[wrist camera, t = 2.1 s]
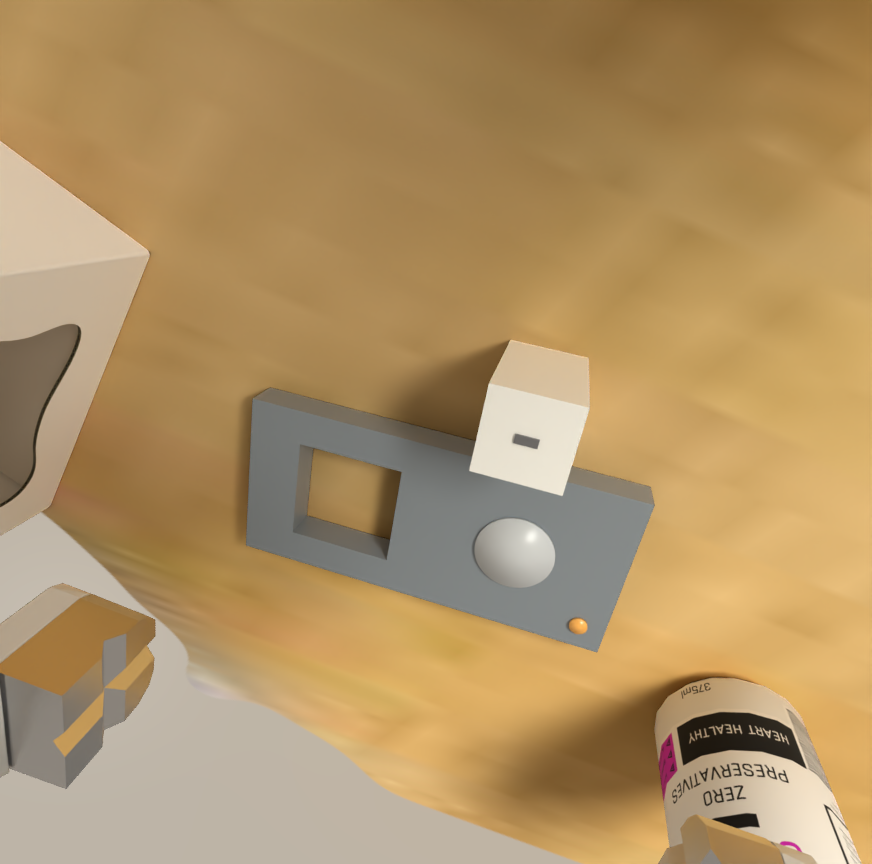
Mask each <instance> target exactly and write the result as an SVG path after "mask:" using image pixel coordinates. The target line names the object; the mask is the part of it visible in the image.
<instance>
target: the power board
mask: <svg viewBox="0 0 872 864" xmlns="http://www.w3.org/2000/svg"><path fill="white" fill-rule="evenodd" d="M475 442H476V441H473V440H469V439H466V438H462V437H458V436H454V435H450V434H446V433H443V432H439V431H435V430H431V429H427V428H423V427H420V426H416V425H412V424H408V423H404V422H400V421H397V420H393V419H389V418H385V417H381V416H378V415H374V414H370V413H366V412H362V411H358V410H355V409H351V408H347V407H343V406H339V405H335V404H332V403H328V402H324V401H320V400H316V399H312V398H309V397H305V396H301V395H297V394H293V393H289V392H286V391H282V390H278V389H274V388H269V389H267V390H265V391H264V392H262V393H261V394H259V395H257V396H256V397H254V398H253V403H252V425H251V447H250V469H249V491H248V513H247V534H246V545H247V546H250V547H253V548H256V549H260V550H263V551H266V552H270V553H273V554H276V555H279V556H283V557H286V558H289V559H293V560H296V561H299V562H302V563H306V564H309V565H312V566H315V567H319V568H322V569H325V570H329V571H332V572H335V573H338V574H342V575H345V576H348V577H352V578H355V579H358V580H361V581H365V582H368V583H371V584H374V585H378V586H381V587H384V588H388V589H391V590H394V591H397V592H401V593H404V594H407V595H411V596H414V597H417V598H420V599H424V600H427V601H430V602H434V603H437V604H440V605H443V606H447V607H450V608H453V609H456V610H460V611H463V612H466V613H470V614H473V615H476V616H479V617H483V618H486V619H489V620H493V621H496V622H499V623H502V624H506V625H509V626H512V627H515V628H519V629H522V630H525V631H529V632H532V633H535V634H538V635H542V636H545V637H548V638H552V639H555V640H558V641H561V642H565V643H568V644H571V645H575V646H578V647H581V648H584V649H588V650H591V651H594V652H597V651H598V649H599V646H600V644H601V641H602V639H603V636H604V633H605V631H606V628H607V626H608V623H609V621H610V618H611V615H612V613H613V610H614V608H615V605H616V603H617V600H618V598H619V595H620V592H621V590H622V587H623V585H624V582H625V580H626V577H627V575H628V572H629V569H630V567H631V564H632V562H633V559H634V557H635V554H636V552H637V549H638V546H639V544H640V541H641V539H642V536H643V534H644V531H645V528H646V526H647V523H648V521H649V518H650V516H651V513H652V511H653V508H654V500H653V496H652V491H651V487H649V486H645V485H642V484H638V483H634V482H630V481H626V480H622V479H619V478H615V477H611V476H607V475H603V474H599V473H596V472H592V471H588V470H584V469H580V468H577V467H573V466H572V467H571V470H570V473H569V477H568V480H567V483H566V486H565V490H564V493H563V496H560V495H557V494H553V493H549V492H546V491H542V490H538V489H534V488H531V487H527V486H523V485H520V484H516V483H512V482H509V481H505V480H501V479H497V478H494V477H490V476H486V475H483V474H479V473H475V472H471V471H469V469H470V464H471V460H472V456H473V451H474V447H475ZM313 448H316V449H319V450H323V451H327V452H330V453H334V454H338V455H341V456H345V457H349V458H352V459H356V460H360V461H363V462H367V463H370V464H374V465H378V466H381V467H385V468H389V469H392V470H396V471H400V472H402V474H401V480H400V485H399V491H398V497H397V503H396V509H395V515H394V520H393V526H392V532H391V538H390V540H389V539H385V538H382V537H379V536H375V535H372V534H368V533H365V532H361V531H358V530H355V529H351V528H348V527H344V526H341V525H337V524H334V523H331V522H327V521H324V520H320V519H317V518H314V517H310V516H307V509H308V498H309V488H310V478H311V467H312V457H313Z"/></svg>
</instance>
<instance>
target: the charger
mask: <svg viewBox="0 0 872 864" xmlns="http://www.w3.org/2000/svg"><path fill="white" fill-rule="evenodd" d="M589 409H590V394H589V358H588V357H583V356H579V355H575V354H570V353H566V352H562V351H558V350H553V349H549V348H545V347H541V346H536V345H532V344H528V343H523V342H519V341H515V340H510V342H509V344H508V346H507V348H506V350H505V352H504V354H503V356H502V358H501V360H500V362H499V364H498V366H497V368H496V370H495V372H494V374H493V376H492V378H491V380H490V382H489V385H488V390H487V394H486V398H485V403H484V407H483V412H482V416H481V420H480V425H479V429H478V434H477V438H476V442H475V447H474V451H473V456H472V460H471V464H470V469H469V471H471V472H475V473H479V474H483V475H486V476H490V477H494V478H497V479H501V480H505V481H509V482H512V483H516V484H520V485H523V486H527V487H531V488H534V489H538V490H542V491H546V492H549V493H553V494H557V495H560V496H563V493H564V490H565V486H566V483H567V480H568V477H569V473H570V470H571V467H572V464H573V461H574V457H575V454H576V451H577V448H578V444H579V441H580V438H581V435H582V432H583V428H584V425H585V422H586V419H587V415H588V412H589Z"/></svg>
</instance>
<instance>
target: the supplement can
mask: <svg viewBox="0 0 872 864" xmlns="http://www.w3.org/2000/svg"><path fill="white" fill-rule="evenodd" d="M654 730H655V738H656V746H657V754H658V761H659V769H660V777H661V785H662V792H663V800H664V808H665V816H666V823H667V831H668V839H669V847H673V846H676V845H679V844H682V843H683V842H682V836H681V830H680V828H681V827H682V826H683V824H684V823H685V821H686V820H687V818H688V817H691V816H693V815H696V814H697V815H700V816H703V817H706V818H709V819H712V820H714V821H717V822H720V823H723V824H726V825H729V826H732V827H735V828H737V829H740V830H743V831H746V832H749V833H752V834H755V835H758V836H760V837H763V838H766V839H767V840H769V841H772V842H775V843H778V844H781V845H783V846H786V847H789V848H792V849H794V850H797V851H800V852H803V853H805V854H808V855H811V856H812V857H813V858H814V860H815V861H816V862H817V864H862V863H861V861H860V859H859V856H858V854H857V851H856V849H855V846H854V844H853V842H852V839H851V837H850V834H849V832H848V829H847V827H846V825H845V822H844V820H843V817H842V815H841V812H840V810H839V807H838V805H837V803H836V800H835V798H834V795H833V793H832V790H831V788H830V786H829V783H828V781H827V778H826V776H825V773H824V771H823V769H822V766H821V764H820V761H819V759H818V756H817V754H816V752H815V749H814V747H813V744H812V742H811V739H810V737H809V735H808V732H807V730H806V727H805V725H804V722H803V720H802V717H801V716H800V715H799V713H798V712H797V711H796V710H795V709H794V707H793V706H792V705H791V704H790V703H789V701H788V700H787V699H785V698H784V697H782V696H780V695H779V694H777V693H775V692H774V691H772V690H770V689H769V688H767V687H765V686H762V685H758V684H755V683H751V682H747V681H744V680H740V679H736V678H708V679H704V680H700V681H696V682H692V683H690V684H688V685H686V686H684V687H683V688H681V689H679V690H678V691H676V692H675V693H673V694H671V695H670V696H668V697H667V699H666V700H665V701H664V703H663V704H662V706H661V707H660V708H659V710H658V711H657V715H656V721H655V728H654Z"/></svg>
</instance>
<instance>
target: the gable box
mask: <svg viewBox="0 0 872 864" xmlns="http://www.w3.org/2000/svg"><path fill="white" fill-rule="evenodd" d="M149 257H150V255H149V252H148V250H147V249H146V248H145V247H143V246H142V245H140V244H139V243H138V242H136V241H135V240H134V239H132V238H131V237H130V236H128V235H127V234H126V233H124V232H123V231H122V230H120V229H119V228H117V227H116V226H115V225H113V224H112V223H111V222H109V221H108V220H107V219H105V218H104V217H103V216H101V215H100V214H98V213H97V212H96V211H94V210H93V209H92V208H90V207H89V206H88V205H86V204H85V203H84V202H82V201H81V200H80V199H78V198H77V197H75V196H74V195H73V194H71V193H70V192H69V191H67V190H66V189H65V188H63V187H62V186H61V185H59V184H58V183H57V182H55V181H54V180H52V179H51V178H50V177H48V176H47V175H46V174H44V173H43V172H42V171H40V170H39V169H38V168H36V167H35V166H33V165H32V164H31V163H29V162H28V161H27V160H25V159H24V158H23V157H21V156H20V155H19V154H17V153H16V152H15V151H13V150H12V149H10V148H9V147H8V146H6V145H5V144H4V143H2V142H1V141H0V536H1V535H3V534H4V533H6V532H8V531H9V530H11V529H12V528H15V527H16V526H18V525H20V524H21V523H23V522H25V521H26V520H28V519H30V518H31V517H33V516H35V515H37V514H38V513H40V512H42V511H43V510H45V509H47V508H48V507H49V506H50V505H51V503H52V501H53V498H54V496H55V493H56V491H57V488H58V486H59V483H60V481H61V478H62V476H63V473H64V471H65V468H66V466H67V463H68V461H69V458H70V456H71V453H72V450H73V448H74V445H75V443H76V440H77V438H78V435H79V433H80V430H81V428H82V425H83V423H84V420H85V418H86V415H87V413H88V410H89V408H90V405H91V403H92V400H93V398H94V395H95V393H96V390H97V388H98V385H99V383H100V380H101V378H102V375H103V373H104V370H105V368H106V365H107V363H108V360H109V358H110V355H111V353H112V350H113V347H114V345H115V342H116V340H117V337H118V335H119V332H120V330H121V327H122V325H123V322H124V320H125V317H126V315H127V312H128V310H129V307H130V305H131V302H132V300H133V297H134V295H135V292H136V290H137V287H138V285H139V282H140V280H141V277H142V275H143V272H144V270H145V267H146V265H147V262H148V260H149Z"/></svg>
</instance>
